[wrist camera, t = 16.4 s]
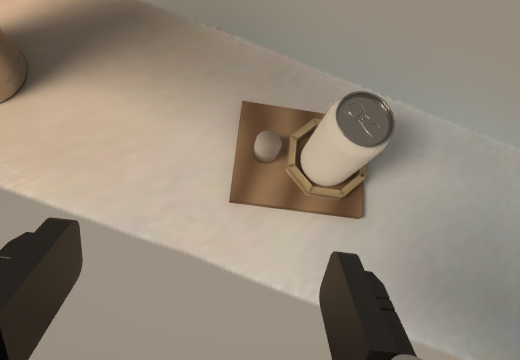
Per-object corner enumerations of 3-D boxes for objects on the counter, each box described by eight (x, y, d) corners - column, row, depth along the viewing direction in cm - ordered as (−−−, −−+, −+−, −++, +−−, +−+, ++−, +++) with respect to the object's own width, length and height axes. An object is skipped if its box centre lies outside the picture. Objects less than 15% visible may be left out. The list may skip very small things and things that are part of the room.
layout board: (229, 202, 41) (231, 193, 37) (241, 105, 45) (244, 88, 41) (358, 218, 43) (373, 212, 39) (359, 123, 46) (373, 108, 42)
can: (324, 128, 44) (363, 74, 33) (360, 165, 43) (413, 123, 32) (288, 159, 42) (316, 112, 31) (325, 198, 41) (368, 165, 30)
